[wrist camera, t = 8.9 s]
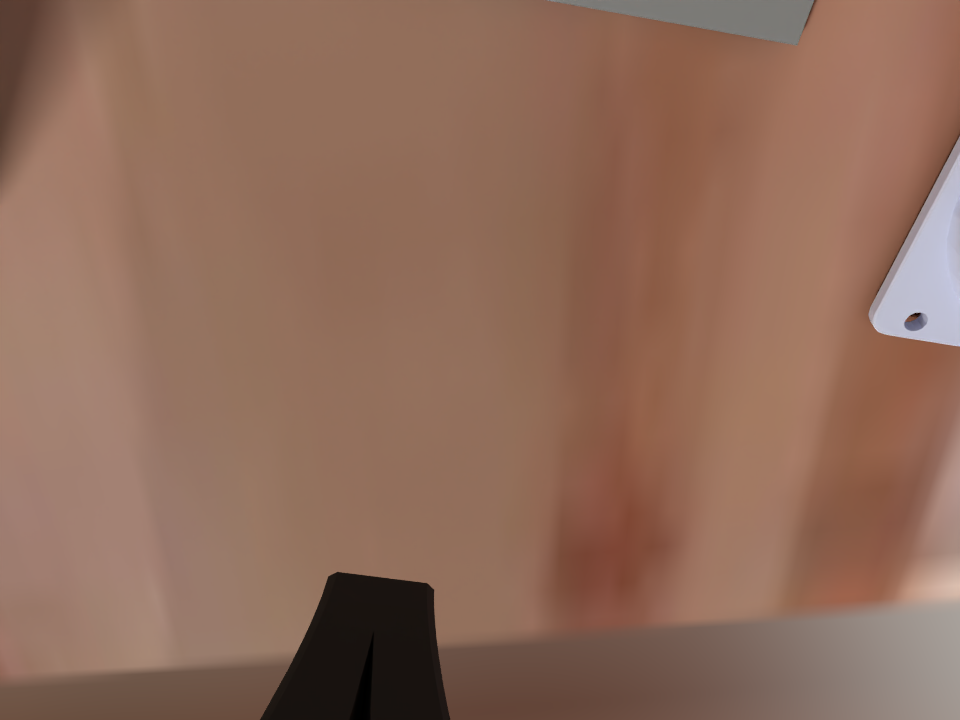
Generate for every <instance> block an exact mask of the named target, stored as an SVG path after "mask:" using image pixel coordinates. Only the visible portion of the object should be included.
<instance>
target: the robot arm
mask: <svg viewBox="0 0 960 720" xmlns="http://www.w3.org/2000/svg"><path fill="white" fill-rule="evenodd" d="M914 313H921V314H920V316H919V317H918V318H917V319H915V320H913V321H911V322H905V320H906V319H907V318H908V316H910V315H912V314H914ZM869 318H870V321H871V323H872V325H873V326H874V328H875V329H876V330H877V331H878V332H880V333H883V334H885V335H891V336H897V337H904V338H910V339H916V340H922V341H928V342H935V343H941V344H947V345H953V346H960V137H959V139H958V140H957V142H956V144H955V146H954V148H953V150H952V152H951V154H950V156H949V158H948V160H947V162H946V163H945V165H944V167H943V169H942V171H941V173H940V175H939V177H938V179H937V181H936V183H935V185H934V186H933V188H932V190H931V192H930V194H929V196H928V198H927V200H926V202H925V204H924V206H923V208H922V209H921V211H920V213H919V215H918V217H917V219H916V221H915V223H914V225H913V227H912V229H911V231H910V232H909V234H908V236H907V238H906V240H905V242H904V244H903V246H902V248H901V250H900V252H899V254H898V256H897V257H896V259H895V261H894V263H893V265H892V267H891V269H890V271H889V273H888V275H887V277H886V279H885V280H884V282H883V284H882V286H881V288H880V290H879V292H878V294H877V296H876V298H875V300H874V302H873V303H872V305H871V307H870V311H869ZM260 720H450V716H449V712H448V707H447V702H446V697H445V692H444V687H443V681H442V674H441V668H440V662H439V656H438V647H437V639H436V629H435V615H434V589H433V588H431V587H430V586H429V585H428V584H427V583H421V582H413V581H405V580H397V579H389V578H381V577H373V576H365V575H357V574H349V573H341V572H336V573H334V574H332V575H330V576H328V579H327V582H326V585H325V589H324V592H323V595H322V597H321V600H320V602H319V605H318V607H317V610H316V612H315V615H314V617H313V619H312V622H311V624H310V626H309V628H308V630H307V633H306V635H305V637H304V639H303V641H302V643H301V645H300V647H299V649H298V651H297V653H296V655H295V657H294V659H293V661H292V663H291V665H290V667H289V669H288V671H287V672H286V674H285V676H284V678H283V680H282V681H281V683H280V685H279V687H278V689H277V691H276V692H275V694H274V696H273V698H272V699H271V701H270V703H269V705H268V707H267V708H266V710H265V712H264V714H263V716H262V717H261V719H260Z"/></svg>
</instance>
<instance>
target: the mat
mask: <svg viewBox="0 0 960 720" xmlns="http://www.w3.org/2000/svg"><path fill="white" fill-rule="evenodd" d="M548 1H554V2H559V3H565V4H570V5H576V6H582V7H587V8H593V9H598V10H604V11H609V12H615V13H620V14H626V15H631V16H637V17H643V18H648V19H654V20H659V21H665V22H670V23H676V24H681V25H687V26H692V27H698V28H704V29H709V30H715V31H720V32H726V33H731V34H737V35H742V36H748V37H753V38H759V39H765V40H770V41H776V42H781V43H787V44H792V45H797V44H798V42H799V39H800V36H801V34H802V31H803V28H804V26H805V23H806V20H807V18H808V15H809V12H810V10H811V7H812V4H813V2H814V0H548Z"/></svg>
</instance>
